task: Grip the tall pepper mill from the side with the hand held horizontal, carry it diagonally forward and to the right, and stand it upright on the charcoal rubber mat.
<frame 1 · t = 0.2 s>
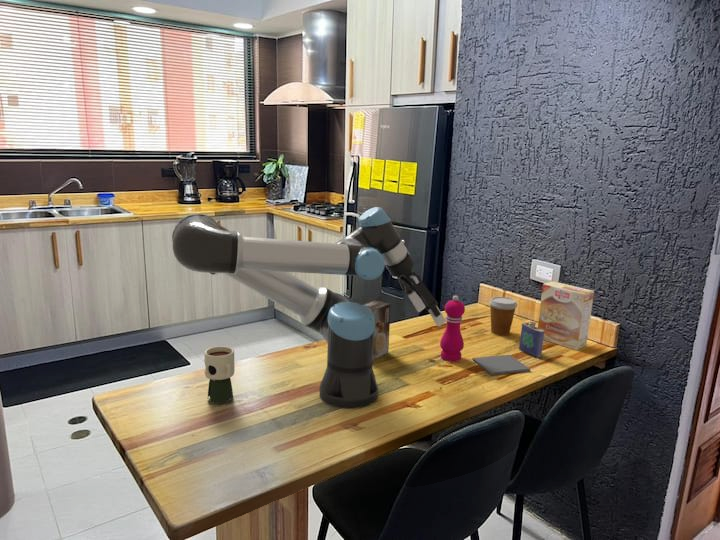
hand: (431, 316, 159), 15 cm above the table, tool tilted 35°, fingers open, 13 cm apart
disposable coffee cup: (500, 333, 194), on the table
coffeecake box: (560, 342, 187), on the table
charcoal mat: (500, 365, 165), on the table
pepper mill: (450, 358, 169), on the table
character mug: (220, 400, 137), on the table
flask: (529, 353, 176), on the table
coffee box: (372, 354, 170), on the table
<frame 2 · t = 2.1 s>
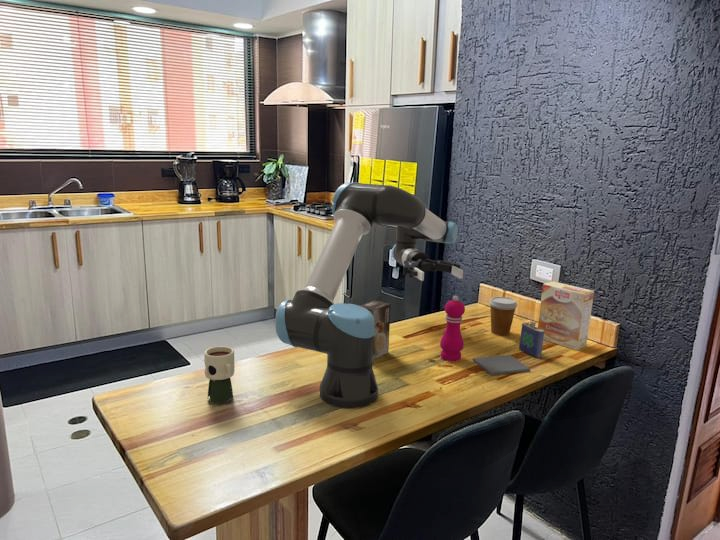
hand: (442, 275, 173), 24 cm above the table, tool horizontal, fingers open, 13 cm apart
nothing on the table moved.
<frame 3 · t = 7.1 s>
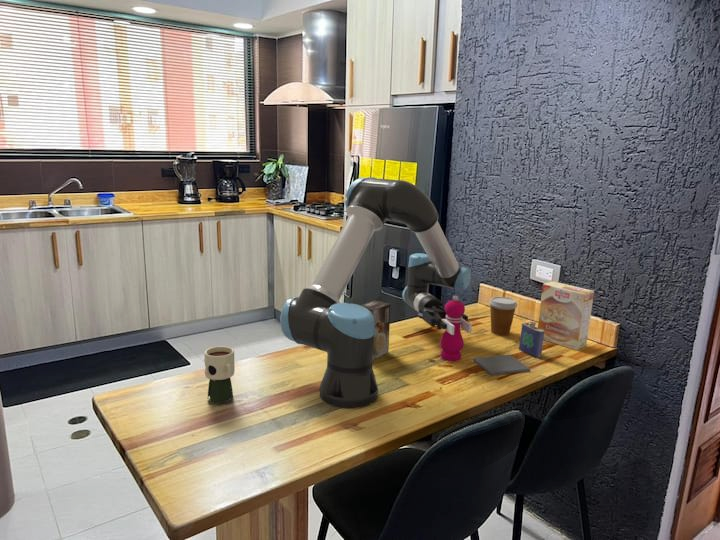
hand: (461, 329, 162), 11 cm above the table, tool horizontal, fingers closed on pepper mill, 5 cm apart
pepper mill: (450, 358, 169), on the table, touching gripper
everything else where it was.
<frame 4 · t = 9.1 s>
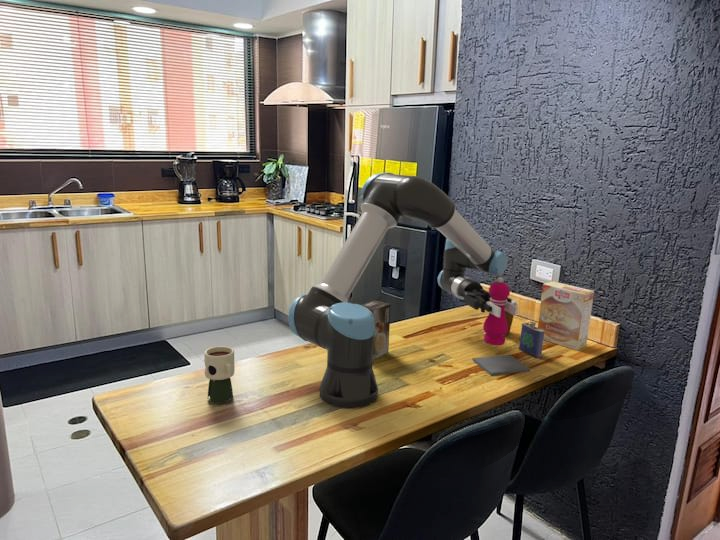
hand: (508, 312, 157), 18 cm above the table, tool horizontal, fingers closed on pepper mill, 5 cm apart
pepper mill: (494, 342, 165), point 7 cm above the table, touching gripper
everything else where it was.
when the fingers open (13 cm above the table, at t = 11.1 s): pepper mill drops 1 cm, resting on charcoal mat.
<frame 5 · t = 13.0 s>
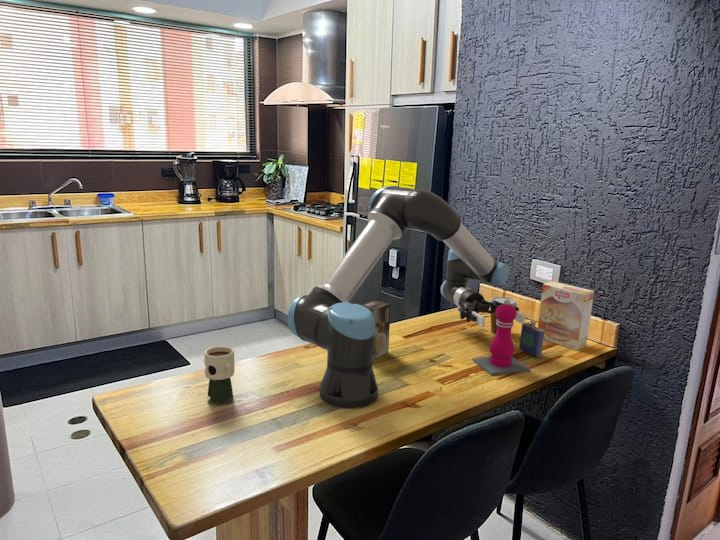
hand: (503, 321, 163), 14 cm above the table, tool horizontal, fingers open, 13 cm apart
pepper mill: (500, 363, 165), point 1 cm above the table, touching charcoal mat
everything else where it was.
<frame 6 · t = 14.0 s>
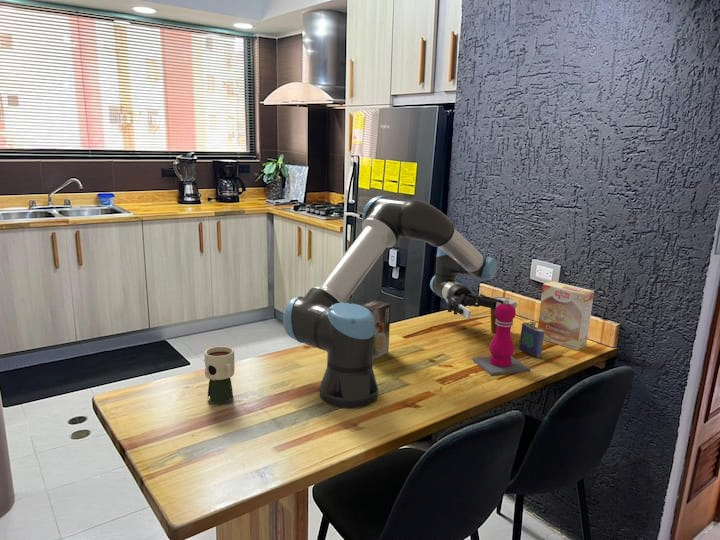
hand: (489, 313, 170), 13 cm above the table, tool horizontal, fingers open, 13 cm apart
nothing on the table moved.
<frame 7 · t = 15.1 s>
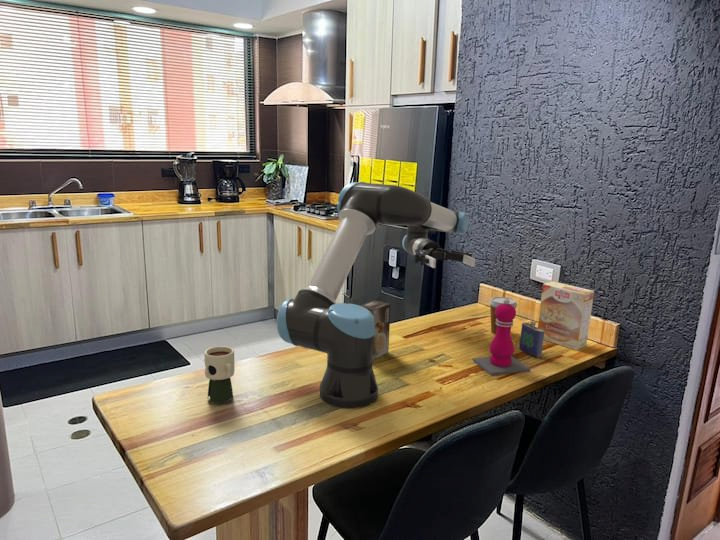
hand: (454, 263, 171), 28 cm above the table, tool horizontal, fingers open, 13 cm apart
nothing on the table moved.
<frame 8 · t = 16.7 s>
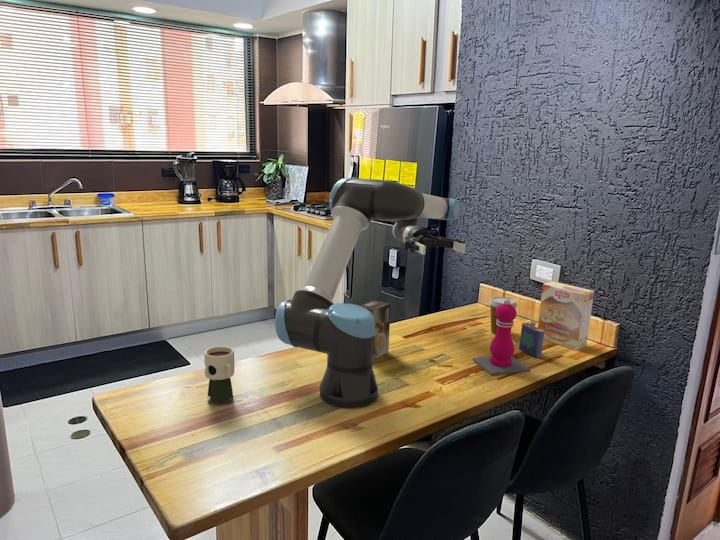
hand: (444, 249, 171), 32 cm above the table, tool horizontal, fingers open, 13 cm apart
nothing on the table moved.
at the end: pepper mill inside the target area on the charcoal mat (0.1 cm from its centre), point 0.6 cm above the charcoal mat's base; pepper mill tilted 1°; the gripper is holding nothing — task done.
